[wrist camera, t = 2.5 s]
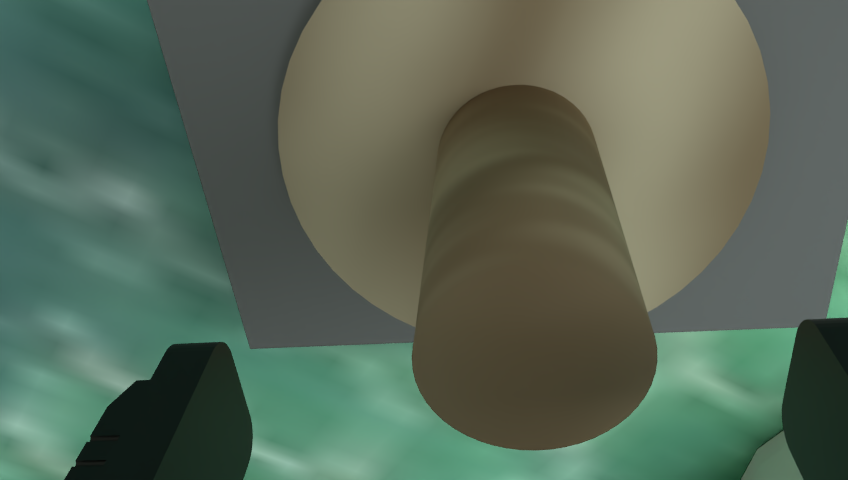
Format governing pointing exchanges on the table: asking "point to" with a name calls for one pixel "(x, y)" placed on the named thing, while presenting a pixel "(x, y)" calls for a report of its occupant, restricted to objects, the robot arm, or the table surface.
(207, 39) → the mat
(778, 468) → the foam cup
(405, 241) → the lid
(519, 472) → the table surface
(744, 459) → the table surface
